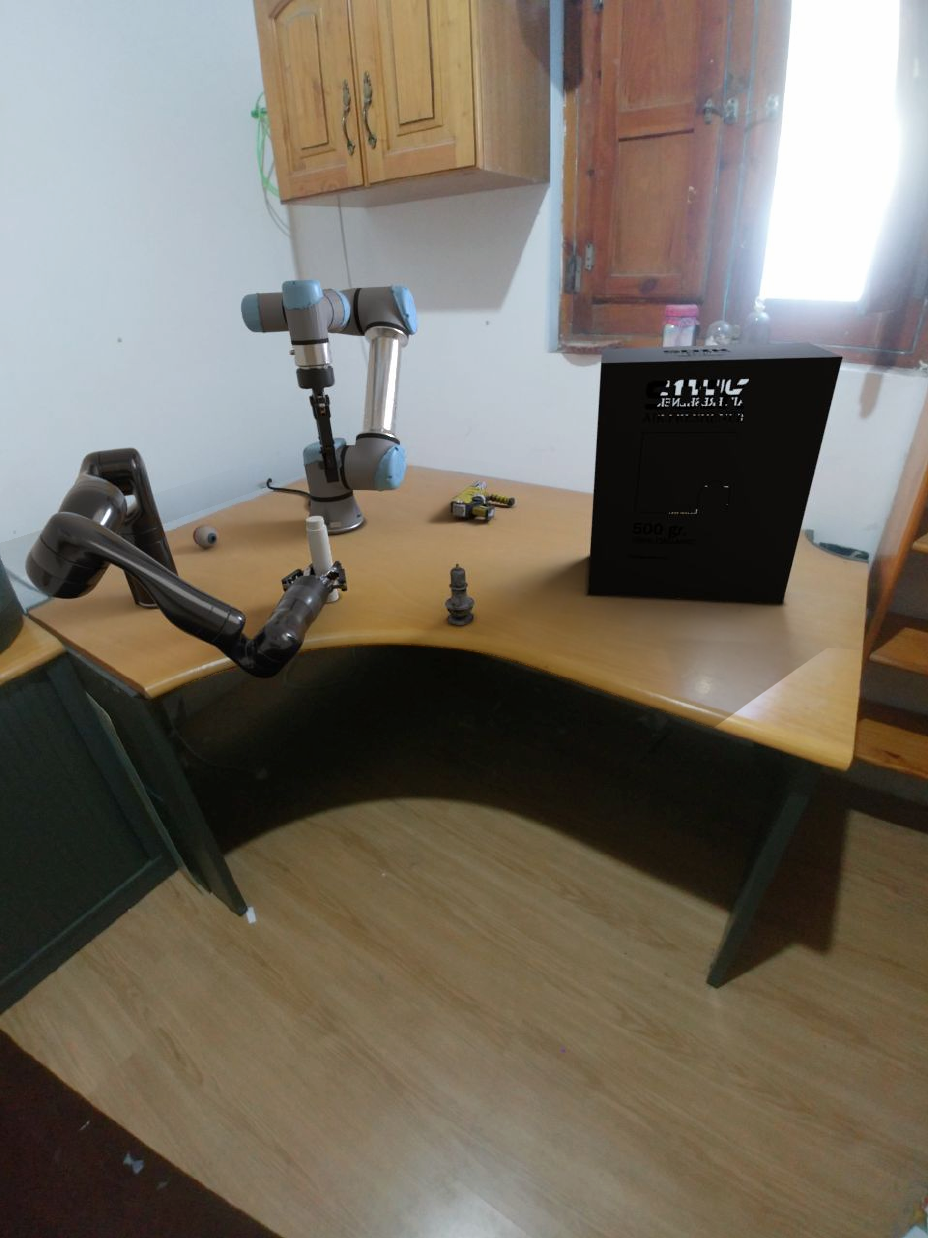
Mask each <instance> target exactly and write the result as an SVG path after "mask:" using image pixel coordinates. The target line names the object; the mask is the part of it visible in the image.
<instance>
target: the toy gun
mask: <svg viewBox="0 0 928 1238" xmlns="http://www.w3.org/2000/svg"><path fill="white" fill-rule="evenodd" d="M486 487H487V482H486V481H485V480H483V481H482V482H481V480H477V481H476V482H474V483H473V484H472V485H469V486H468V487H467V488H466V489H465V490H463V491H462V492H461V493H460V494H459V495H457V496H456V497H455V498H454V499H453V500H451V502H450V503H449V504H450V505H449V513H450V515H451V516H454V518H458V519H459V518H460V519H461V518H471V517H474V516H477V517H481V518H485V521H487V522H488V521H490V520H491V519H493V518H494V517H495V511H496V509H495V508H496V507H495V506H494V505H492V504H491V505H490V506H489V505H488V504H487V503H489V502H490V501H491V502H492V503H499V504H502V505H507V506H508V507H513V506H514V505H515V503H516V499H515V498H514V497H511V496H509V497H508V496H506V495H505V496H504V495H501V494H497V493H491V495H490V494H489V492H488V491H487V489H485V488H486Z"/></svg>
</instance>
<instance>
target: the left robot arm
mask: <svg viewBox="0 0 928 1238" xmlns="http://www.w3.org/2000/svg"><path fill="white" fill-rule="evenodd" d="M129 496H134V501H133V502H132V503H131V504H129V506H128V503H127V499H126V497H129ZM110 565H113V566H115V567H117V568H119V569H121V570H122V571H123V574H124V576H125V580H126V582H127V585H128V587H129V590H130V592H131V595H132V598H133V600H134V604H135V605H136V606H140V607H142V608H144V609H159V611H160V612H161V613H162V615H163V616H164V617H165V618H166V619H167V621H168V622H169V623H170V624H172V625H173V626H174V627H175V628H176V629H178V630H179V631H181V632H183V633H185V634H186V635H189V636H190V637H193V638H195V639H197V640H199V641H201V642H203V643H205V644H208V645H210V646H212V647H215V648H216V649H217V650H219V651H220V652H221V653H222V654H223V655H224V656H225V657H227V658H228V659H229V660H231V661H232V662H233V663H234V664H236V665H237V667H239V669H241V670H243V672H245V673H246V674H248V675H250V676H252V677H255V678H259V679H271V678H274V677H276V676H277V675H278V674H279V673H280V672H281V671H282V670H283V669H284V668H285V667H286V665H288V663H290V661H292V660H293V658H294V657H295V656H296V655H297V654H298V652H299V651H300V650H301V648H302V646H303V644H304V641H305V638H306V634H307V632H308V631H309V629H310V627H311V626H312V625H313V624H314V622H315V621H316V620H317V618H318V616H319V615H320V613H321V612H322V610H323V608H324V606H325V605H326V601H327V599H328V595H329V594H330V593H332V592H333V591H334V589H337V590H338V589H339V590H341V592H348V584H347V577H346V571H345V568H343V567H342V566H343V565H342V563H341V562H340V561H339V560H335V561H334V563H333V566H332V567H331V569H330V570H325V571H324V572H323V573H321V574H320V575H315V573H314V568H313V563H310V564H309V565H308V567H304V570H303V569H302V568H296V569H295V570H293V571H292V572H291V573H289V574H287V575H286V576H285V577H283V578H281V580H280V582H281V587H282V589H283V592H284V593H283V594H282V596H281V597H280V599H279V601H278V603H277V605H276V606H275V608H274V609H272V612H271V613H270V615H269V617H268V620H267V621H266V622H265V624H264V625H263V626H262V627H261V628H260V629H259V631H257V633H256V634H255V635H254V636H253V638H250V637H249V636H247V635H246V634H245V633H244V632H243V631H244V629H245V626H246V622H247V618H246V615H245V613H244V612H243V611H241V610H239V609H238V608H236V607H234V605H233V606H232V605H230V604H229V603H227V602H225V601H223V600H221V599H219V598H217V597H215V596H213V595H211V594H209V593H207V592H205V591H203V590H202V589H199V587H196V586H194V585H193V584H191V583H189V582H188V581H186V580H185V579H183V578H181V577H180V576H179V572H178V570H177V567H176V563H175V560H174V556H173V554H172V551H171V547H170V544H169V542H168V538H167V535H166V532H165V529H164V526H163V522H162V520H161V516H160V514H159V510H158V507H157V503H156V501H155V497H154V494H153V490H152V486H151V482H150V478H149V475H148V470H147V467H146V463H145V461H144V458H143V456H142V454H141V453H140V452H139V450H138V449H136V448H135V447H133V446H132V447H130V446H129V447H121V448H112V449H104V450H95V451H92V452H89V453H87V454H86V455H85V456H84V457H83V458H82V461H81V464H80V468H79V471H78V475H77V478H76V480H75V481H74V483H73V485H72V486H71V488H70V489H69V490H68V491H67V493H66V494H65V496H64V497H63V499H62V501H61V504H60V505H59V508H58V510H57V512H56V513H54V514H52V515H51V516H50V518H49V519H48V520H47V522H46V524H45V525H44V527H43V529H42V530H41V532H40V534H39V536H38V537H37V539H36V540H35V542H34V544H33V545H32V547H31V548H30V550H29V552H28V554H27V557H26V559H25V565H24V566H25V567H24V568H25V573H26V576H27V577H28V579H29V581H30V582H31V584H32V585H33V586H34V587H35V588H36V589H38V590H39V591H40V592H42V593H43V594H45V595H46V596H47V595H48V596H49V597H52V598H56V599H61V600H74V599H79V598H83V597H85V596H87V595H88V594H90V593H91V592H92V591H94V590H95V588H96V587H97V586H98V584H100V581H101V580H102V578H103V577H104V575H105V574H106V573H107V570H108V569H109V567H110ZM335 581H336V582H335ZM334 582H335V583H334Z"/></svg>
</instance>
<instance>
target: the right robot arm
mask: <svg viewBox="0 0 928 1238" xmlns="http://www.w3.org/2000/svg"><path fill="white" fill-rule="evenodd" d="M240 303H241V304H240V312H241V317H242V322H243V323H244V326H245V327H246V328H247V329H248V330H249V331H250V332H253V333H262V334H266V333H281V332H282V333H283V332H289V333H288V334H289V339H290V345H291V348H292V349H290V350H289V355H290V356H293V361H294V366H296V367H298V368H296V370H295V375H296V380H297V385H298V388H299V389H302V390H311V393H312V394H311V395H309V396H308V400H309V404H310V407H311V410H312V415H313V418H314V420H315V424H316V429H317V435H318V437H317V438H318V441H315V442H313V443H309V444H308V445H307V446H305V447H304V448H303V450H302V457H303V458H302V460H303V467H304V471H305V477H306V481H307V486H308V492H307V491H304V490H300V489H294V488H285V487H277V486H276V487H275V486H271V485H270V483H272V482H273V479H272V478H271V477H269V478H268V479H266V484H265V485H266V488H267V489H269V490H271V491H280V492H289V493H297V494H302V495H304V496H307V497H309V500H308V506H309V513H308V518H309V517H312V516H322V517H323V520H324V524H325V525H326V528H327V534H328V536H331V535H339V534H340V535H341V534H345V533H350V532H353V531H355V530H357V529H359V528H361V527H362V526H363V525H364V523H365V519H364V514H363V512H362V510H361V508H360V505H359V504H358V501H357V500H356V498H355V495H354V491H377V492H384V491H387V492H388V491H394V490H397V489H398V488H399V487H400V486H401V485H402V483H403V480H404V478H405V474H406V470H407V453H406V449H405V448H404V447H403V446H402V445H401V440H400V438H398V436H397V435H396V427H397V426H396V425H397V414H398V403H399V390H400V378H401V367H402V356H403V355H402V354H403V353H402V352H403V349H404V348H406V347H407V346H408V344H409V338H410V336H413V335H416V333H417V331H418V315H417V308H416V304H415V300H414V298H413V294H412V292H411V290H410V289H409V288H408V287H406V286H405V285H393V284H391V285H390V286H369V287H352V288H346V289H341V290H337V289H332V288H324V289H322V284H321V283H320V281H319V280H318V279H314V278H313V279H297V280H292V279H291V280H285V281H283V282H282V284H281V291H279V292H276V291H275V292H261V293H260V292H256V293H249V294H246V295H244V296H243V298H242V299H241V302H240ZM329 334H339V335H347V336H352V337H353V336H354V337H355V336H356V337H364V339H365V340H366V342H367V343H368V345H369V346H368V347H369V348H368V349H369V350H368V359H367V372H366V384H365V394H364V395H365V397H364V407H363V417H362V418H363V420H362V430H361V431H360V432H358V433H357V434H356V436H355V443H354V444H347V441H346V439H345V438H343V437H334V435H333V430H332V424H331V418H332V414H331V407H330V405H331V401H330V396H329V395H328V393H327V394H326V393H325V389H326V388H331V387H333V386H335V384H336V379H335V372H334V366H333V367H332V365H331V364H332V363H333V356H332V355H333V354H332V350H331V349H332V348H331V344H330V343H331V342H330V338H329ZM336 455H339V456H340V458H341V462H342V466H341V467H340V468H337V462H336ZM321 456H323V462H324V468H325V470H320V469H319V468H318V463H317V461H318V460H317V459H318V458H319V457H321Z"/></svg>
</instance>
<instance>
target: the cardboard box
mask: <svg viewBox="0 0 928 1238" xmlns="http://www.w3.org/2000/svg"><path fill="white" fill-rule="evenodd" d="M843 358H844V356H842V355H840V354H838V353H835V352H832V351H830V350H828V349H825V348H824V347H823V348H822V347H820V346H818V345H815V344H813V343H810V342H777V343H776V342H775V343H774V342H773V343H744V344H743V343H741V344H716V345H715V344H713V345H711V344H709V345H684V346H683V345H679V346H676V345H675V346H650V347H649V346H648V347H647V346H646V347H617V348H616V347H615V348H614V347H613V348H602V349H601V359H600V373H599V374H600V375H599V389H598V390H599V391H598V392H599V393H598V408H597V411H598V412H597V426H596V442H595V457H594V459H595V461H594V477H593V478H594V479H593V496H592V512H591V527H590V547H589V561H588V562H589V563H588V579H587V580H588V581H587V595H588V596H589V595H590V596H610V597H631V598H649V599H650V598H651V599H667V600H687V601H688V600H689V601H707V602H708V601H709V602H728V603H729V602H730V603H746V604H747V603H751V604H768V605H783V604H784V601H785V597H786V591H787V588H788V583H789V580H790V575H791V573H792V567H793V563H794V558H795V555H796V551H797V547H798V543H799V537H800V534H801V530H802V526H803V522H804V517H805V514H806V509H807V506H808V501H809V497H810V495H811V494H810V493H811V489H812V486H813V481H814V477H815V472H816V469H817V464H818V460H819V455H820V452H821V448H822V445H823V440H824V435H825V432H826V428H827V423H828V420H829V415H830V411H831V407H832V403H833V399H834V395H835V391H836V386H837V382H838V378H839V374H840V370H841V366H842V362H843ZM742 380H747V381H746V382H745V383H743V384H742V383H741V384H739V383H740V382H741V381H742ZM679 381H682V385H681V388H680V394H676V393H677V392H676V391H677V382H679ZM690 381H695V383H694V386H693V385H690ZM705 381H707V384H706V385H704V384H705ZM728 382H729V388H728V391H729V392H734V390H740V391H739V392H738V393H736V394H735V393H733V394H731V393H730V394H729V393H727V390H726V388H727V384H728ZM693 389H694V390H697V393H696V394H693ZM707 390H708V391H713V394H707ZM663 393H666V394H663Z"/></svg>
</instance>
